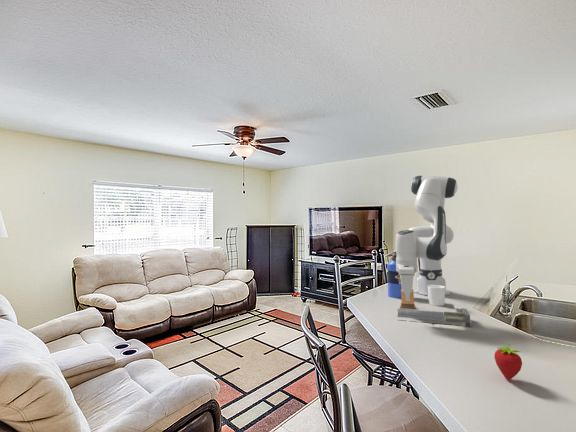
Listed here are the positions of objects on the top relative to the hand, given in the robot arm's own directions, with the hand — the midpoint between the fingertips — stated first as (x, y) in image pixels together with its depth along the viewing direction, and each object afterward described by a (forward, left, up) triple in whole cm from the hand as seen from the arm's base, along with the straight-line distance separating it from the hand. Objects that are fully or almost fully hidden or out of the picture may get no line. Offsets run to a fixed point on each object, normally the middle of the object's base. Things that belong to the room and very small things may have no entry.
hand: (407, 298), depth 137 cm
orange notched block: (0, 0, -2) cm, 2 cm away
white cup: (-22, +13, -9) cm, 27 cm away
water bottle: (-33, -6, -9) cm, 35 cm away
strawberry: (+48, +26, -9) cm, 55 cm away
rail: (0, +10, -8) cm, 13 cm away
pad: (-11, 0, -8) cm, 14 cm away
